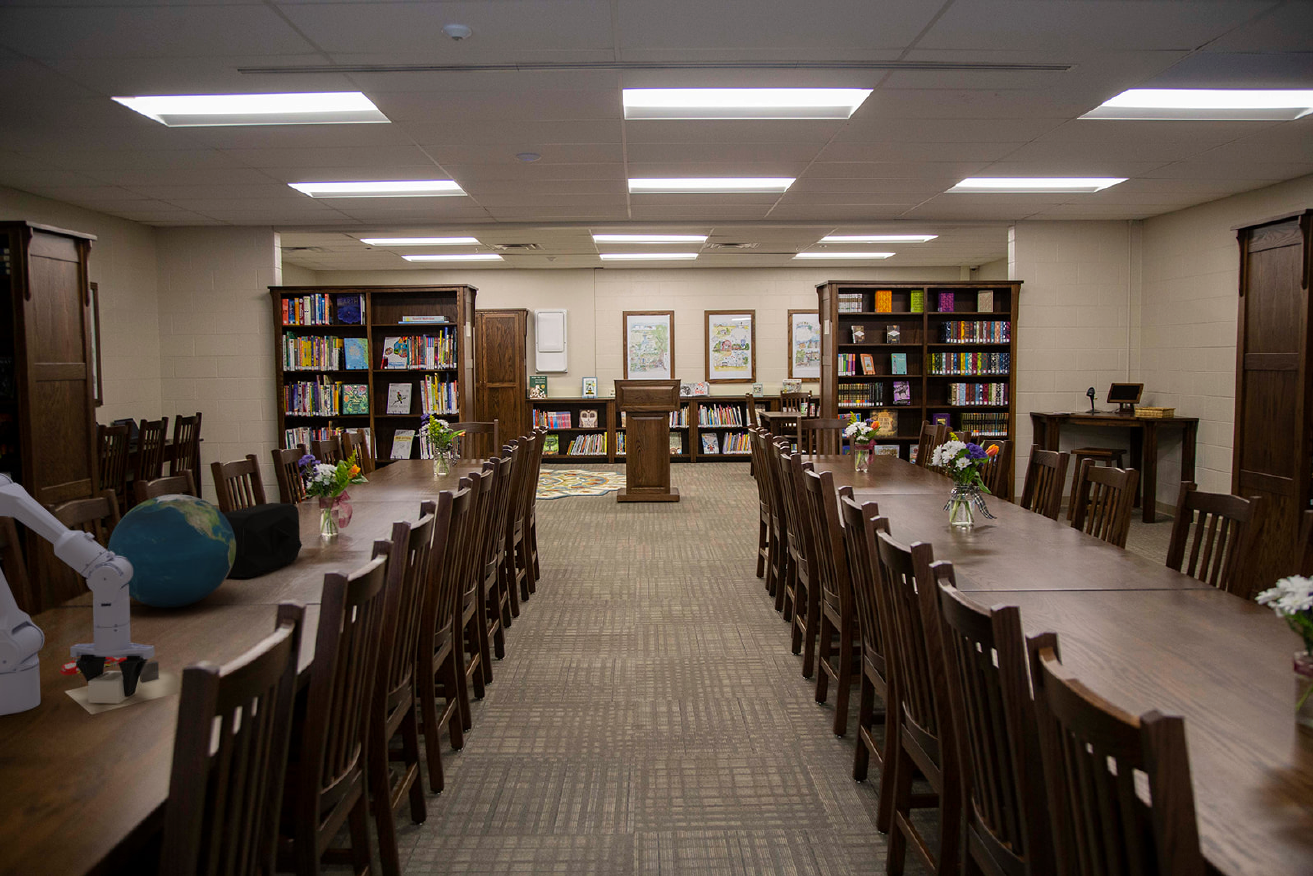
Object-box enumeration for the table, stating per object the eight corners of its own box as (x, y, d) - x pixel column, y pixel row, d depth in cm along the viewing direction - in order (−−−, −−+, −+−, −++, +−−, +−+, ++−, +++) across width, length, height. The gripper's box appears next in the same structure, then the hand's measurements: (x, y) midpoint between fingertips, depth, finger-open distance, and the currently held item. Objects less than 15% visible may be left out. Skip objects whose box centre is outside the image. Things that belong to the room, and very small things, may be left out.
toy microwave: (118, 703, 155) (118, 681, 155) (88, 702, 155) (88, 680, 155) (137, 692, 161) (137, 670, 160) (108, 691, 161) (108, 669, 160)
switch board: (92, 722, 151) (91, 695, 151) (64, 699, 161) (63, 673, 161) (198, 695, 165) (198, 670, 164) (167, 675, 175) (166, 651, 175)
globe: (181, 625, 208) (178, 505, 206) (80, 616, 214) (76, 499, 212) (260, 596, 237) (259, 490, 235) (169, 588, 243) (167, 485, 241)
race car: (129, 663, 183) (129, 644, 182) (138, 669, 179) (138, 650, 179) (57, 678, 173) (56, 659, 172) (65, 685, 169) (64, 665, 169)
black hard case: (275, 559, 284) (275, 500, 282) (309, 561, 282) (308, 502, 280) (215, 580, 254) (214, 514, 252) (252, 582, 252) (251, 516, 251)
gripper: (163, 618, 161) (164, 687, 162) (87, 616, 161) (89, 685, 162) (140, 629, 154) (142, 701, 155) (61, 627, 154) (63, 699, 155)
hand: (113, 694), depth 158 cm, fingers closed on toy microwave, 6 cm apart
